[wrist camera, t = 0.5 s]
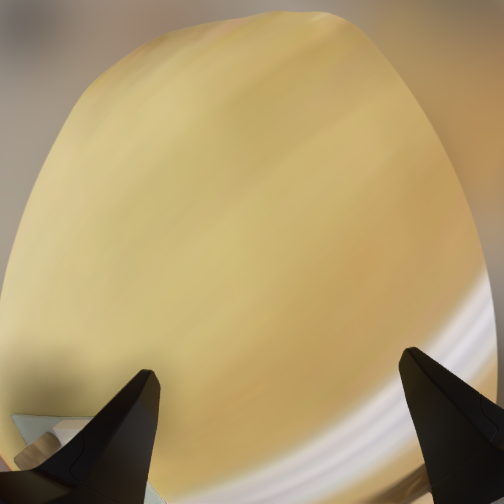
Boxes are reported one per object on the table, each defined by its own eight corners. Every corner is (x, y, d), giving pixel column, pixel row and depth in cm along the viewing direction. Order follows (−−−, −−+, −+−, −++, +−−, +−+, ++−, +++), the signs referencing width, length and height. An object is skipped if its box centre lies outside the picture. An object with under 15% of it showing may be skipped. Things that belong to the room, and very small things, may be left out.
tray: (132, 465, 21) (125, 477, 19) (90, 463, 21) (82, 473, 18) (103, 419, 21) (93, 429, 19) (63, 419, 21) (52, 428, 19)
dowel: (64, 449, 21) (34, 478, 13) (52, 447, 21) (23, 473, 13) (54, 432, 21) (21, 459, 13) (42, 430, 21) (10, 455, 13)
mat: (167, 505, 22) (166, 508, 21) (64, 490, 21) (62, 493, 20) (106, 416, 22) (103, 419, 21) (13, 413, 22) (10, 415, 21)
